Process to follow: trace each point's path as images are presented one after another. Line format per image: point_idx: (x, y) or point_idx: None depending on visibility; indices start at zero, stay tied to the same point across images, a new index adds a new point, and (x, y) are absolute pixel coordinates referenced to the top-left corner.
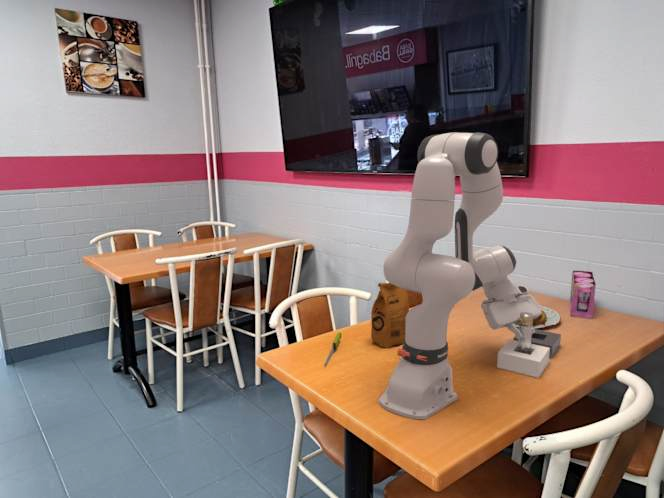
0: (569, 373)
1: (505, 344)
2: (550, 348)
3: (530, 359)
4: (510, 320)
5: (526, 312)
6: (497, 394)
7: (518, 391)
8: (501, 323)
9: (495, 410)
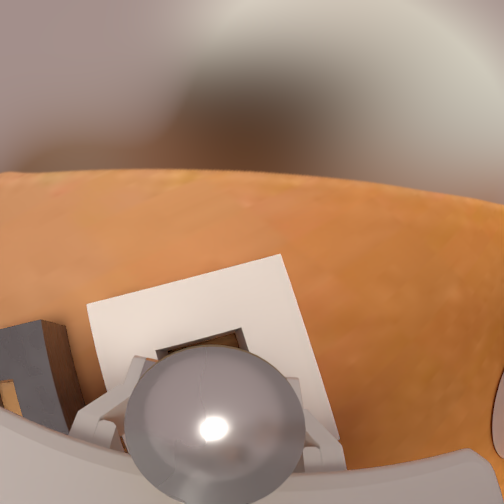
0: (142, 221)
1: None
2: (47, 329)
3: (291, 296)
4: (374, 478)
5: (150, 467)
6: (446, 293)
7: (395, 266)
8: (464, 454)
9: (484, 250)
